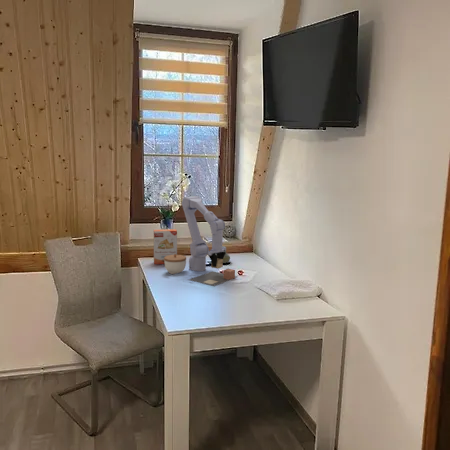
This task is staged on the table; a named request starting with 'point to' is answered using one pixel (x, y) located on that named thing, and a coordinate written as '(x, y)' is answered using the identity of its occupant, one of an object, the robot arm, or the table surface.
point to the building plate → (211, 278)
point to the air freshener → (225, 257)
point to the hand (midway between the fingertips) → (216, 265)
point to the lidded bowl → (175, 263)
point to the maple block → (218, 263)
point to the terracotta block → (229, 274)
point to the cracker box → (164, 244)
